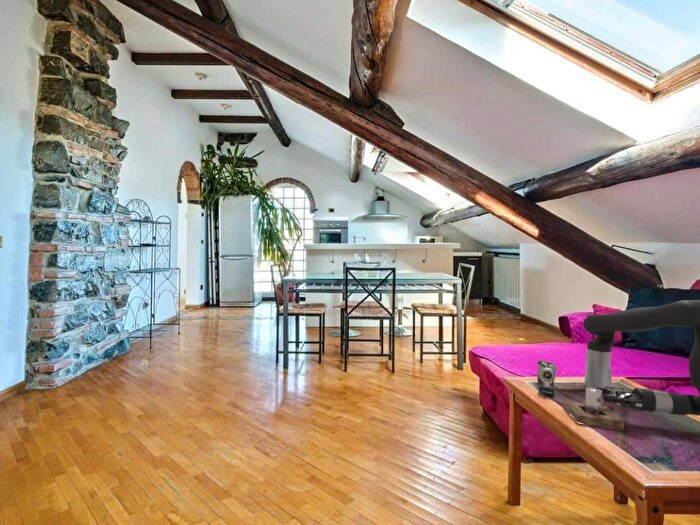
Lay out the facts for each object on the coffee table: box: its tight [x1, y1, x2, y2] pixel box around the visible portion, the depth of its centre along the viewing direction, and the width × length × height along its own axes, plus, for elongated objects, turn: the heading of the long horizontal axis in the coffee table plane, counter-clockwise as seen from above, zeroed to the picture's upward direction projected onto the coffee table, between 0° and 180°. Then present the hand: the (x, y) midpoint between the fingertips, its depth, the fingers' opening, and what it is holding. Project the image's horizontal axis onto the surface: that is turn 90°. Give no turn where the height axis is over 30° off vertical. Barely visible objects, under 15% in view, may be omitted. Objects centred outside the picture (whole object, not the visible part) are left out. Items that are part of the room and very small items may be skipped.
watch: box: [538, 367, 556, 398], centre depth 157 cm, size 6×8×11 cm
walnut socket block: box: [563, 400, 625, 431], centre depth 133 cm, size 14×14×4 cm
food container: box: [536, 359, 558, 387], centre depth 169 cm, size 12×6×10 cm, turn 171°
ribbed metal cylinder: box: [584, 387, 603, 415], centre depth 133 cm, size 5×5×10 cm
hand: (598, 394), depth 133 cm, fingers open, 8 cm apart
